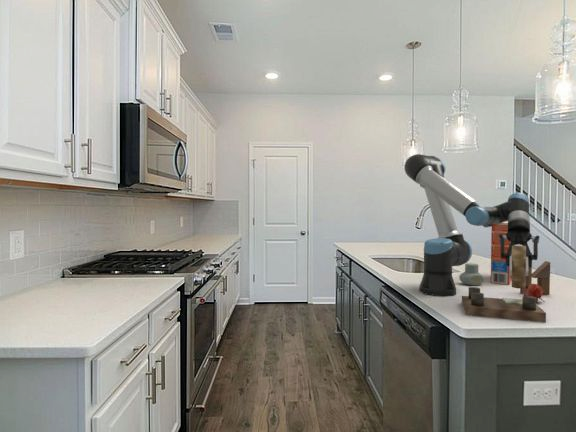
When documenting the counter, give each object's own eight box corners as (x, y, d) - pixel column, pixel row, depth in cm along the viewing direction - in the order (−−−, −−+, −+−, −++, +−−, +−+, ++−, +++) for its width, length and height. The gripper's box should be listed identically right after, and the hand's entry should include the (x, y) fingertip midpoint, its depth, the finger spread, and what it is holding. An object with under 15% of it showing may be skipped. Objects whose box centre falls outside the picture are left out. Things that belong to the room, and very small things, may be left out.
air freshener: (465, 286, 190) (466, 265, 189) (456, 283, 198) (456, 263, 198) (487, 285, 191) (487, 265, 191) (476, 282, 199) (477, 262, 199)
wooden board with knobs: (465, 315, 138) (466, 295, 138) (461, 303, 155) (462, 285, 155) (545, 322, 130) (546, 300, 130) (532, 308, 147) (532, 290, 147)
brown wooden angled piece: (549, 294, 172) (550, 253, 172) (524, 294, 173) (525, 252, 172) (544, 292, 176) (545, 252, 175) (519, 292, 176) (520, 251, 176)
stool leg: (512, 288, 144) (513, 246, 143) (510, 285, 148) (510, 245, 148) (526, 288, 142) (527, 246, 142) (524, 286, 146) (524, 245, 146)
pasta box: (509, 285, 193) (510, 223, 193) (490, 283, 198) (491, 222, 197) (512, 278, 212) (513, 221, 212) (495, 276, 217) (496, 221, 216)
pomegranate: (536, 305, 163) (515, 288, 165) (550, 292, 160) (528, 276, 163) (540, 311, 156) (517, 294, 158) (554, 298, 154) (531, 281, 156)
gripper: (544, 232, 154) (547, 281, 140) (493, 230, 162) (491, 277, 148) (545, 218, 149) (548, 268, 135) (493, 218, 158) (491, 264, 143)
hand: (518, 272), depth 142 cm, fingers closed on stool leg, 4 cm apart
